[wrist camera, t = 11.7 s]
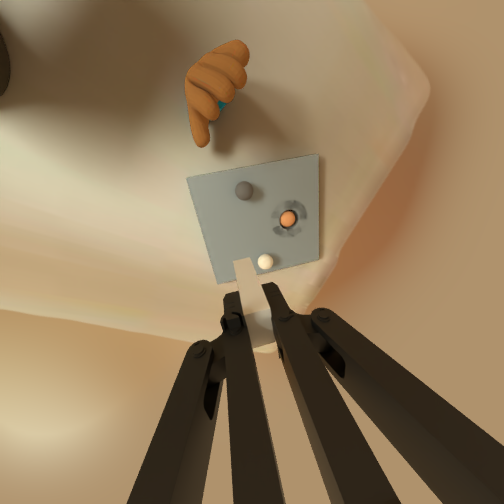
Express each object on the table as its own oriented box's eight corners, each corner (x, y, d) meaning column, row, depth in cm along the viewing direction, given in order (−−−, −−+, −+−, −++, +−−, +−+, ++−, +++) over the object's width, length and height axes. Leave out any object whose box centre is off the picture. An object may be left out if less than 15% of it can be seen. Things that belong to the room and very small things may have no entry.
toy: (203, 152, 35) (197, 142, 21) (171, 120, 32) (140, 85, 19) (247, 98, 33) (270, 49, 19) (216, 59, 30) (218, -31, 16)
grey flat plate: (217, 278, 46) (217, 284, 44) (187, 177, 36) (185, 177, 34) (314, 255, 49) (319, 259, 47) (312, 154, 39) (318, 153, 36)
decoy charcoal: (236, 200, 37) (238, 203, 34) (232, 182, 36) (234, 183, 32) (252, 197, 37) (256, 199, 34) (250, 179, 36) (253, 180, 33)
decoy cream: (257, 266, 44) (260, 273, 41) (255, 253, 43) (258, 260, 39) (271, 263, 44) (275, 270, 41) (269, 250, 43) (274, 256, 40)
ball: (294, 224, 39) (300, 218, 41) (284, 211, 39) (291, 205, 41) (283, 231, 42) (289, 225, 44) (273, 219, 41) (280, 213, 44)
